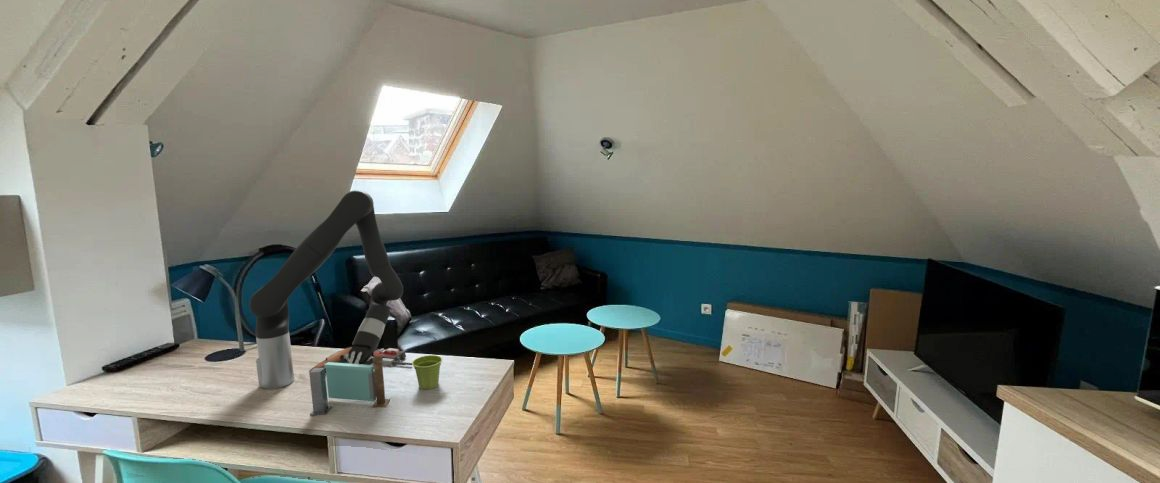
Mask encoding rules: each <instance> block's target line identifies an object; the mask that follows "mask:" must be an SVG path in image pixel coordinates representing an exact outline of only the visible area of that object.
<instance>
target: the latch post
mask: <svg viewBox="0 0 1160 483" xmlns="http://www.w3.org/2000/svg"><path fill="white" fill-rule="evenodd" d="M311 369H312V368H311ZM311 369H310V370H311ZM310 370H309V371H310ZM308 374H309V383H310V393H311V402H312V403H311V404H312V411H311V412H310V414H309V416H311V417H313V416H317V417H318V416H326V415H328V414H329V412H330V410H331V409H332V408H333V406H332V405H329V397H328V387H327V377H326V374H325V368H314V369H312V370H311V371H310V372H308Z"/></svg>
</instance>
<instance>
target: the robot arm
mask: <svg viewBox="0 0 1160 483" xmlns="http://www.w3.org/2000/svg"><path fill="white" fill-rule="evenodd" d="M374 204H375V203H374V199H373V197H372V196H371V195H370V194H369V193H368V192H366V191H363V190H356V189H355V190H350V191H348V192H347V193H345V195H343V196H342V198H341V200H340V201H339V202H338V203H337V205H336V206H335V208H334V209H333V210H332V212H331V213H330V214H329V215H328V217H327V218H325V220H324V221H323V222H322V223H320V224H318V226H317V227H316V228H315V229H313V230H312V232H311V233H310V234H309V235H308V236H306V237H305V238H304V239H303V241H301V243H300V244H299V245H298V246H297V247H296V248H295V250H294V251H293V252H292V253H291V254H290V255H289V257H288V258H287V259H286V261H285V262H284V264H283V265H282V266H281V268H280V269H279V270H278V272H277V273H276V274H275V275H274V276H273V277H272V278H271V279H270V280H268V282H266V284H265V285H263V286H261V287H260V288H259V289H258V290H257V291H255V293H253V294H252V295H251V297H250V299H249V302H248V304H249V306H248V307H249V310H250V312H251V313H252V314H253V316H256V325H255V339H256V340H255V341H256V347H257V359H256V360H255V364H256V371H257V372H256V373H257V380H258V387H259V388H263V389H266V390H267V389H268V390H269V389H271V390H274V389H278V388H279V389H280V388H283V387H286V386H288V385H290V384H292V383H293V382H294V381H295V373H294V372H295V371H294V365H293V355H292V346H291V337H290V336H291V335H290V329H289V328H290V327H289V324H290V313H289V312H290V311H289V302H288V301H289V300H288V299H290V297H291V295H292V294H293V293H294V291H296V290H297V288H298V287H300V285H301V284H303V283H304V282H305V281H306V280H307V279H309V278H310V277H311V276H312V275H313V274H314V273H315V272H316V271H317V270H318V269H319V268H320V267H322V266H323V264H324V263H325V262H326V261H327V260H328V258H330V257H331V255H332V254H333V253H334V252H335V250H336V249H337V247H338V246H339V244H340V242H341V240H342V239H343V238H344V236H346V234H347V232H349V230H350V229H351V228H352V227H353V226H354V225H356V227H357V230H358V232H359V236H360V241H361V245H362V250H363V254H364V258H365V261H366V264H367V267H368V270H369V273H370V274H371V276H372V277H375V278H378V279H379V280H380V282H378V283H377V284H375V286H374V287H373V289H372V291H371V293H370V294H371V295H370V300H369V306H368V307H369V308H368V309H367V311H366V314H365V315H364V318H363V320H362V322H361V324H360V326H359V327H358V330H357V332H356V334H355V337H354V339H353V341H352V343H351V344H352V345H351V347H352V348H351V349H350V350H349V352H348V354H346V355H341V356H340V360H341V363H348V364H362V365H374V363H373V356H374V351H376V350H377V349H378V346H379V343H380V341H381V339H382V336H383V334H384V331H385V327H386V325H387V322H388V319H389V317H390V314H391V310H390V308H389V307H388V306H387V305H388V302H392V301H397V300H400V299H401V298H402V296H403V295H404V285H403V283H402V281H401V278H400V277H399V276H398V275H397V272H396V271H395V270H394V268H393V267H392V265H391V262H390V258H389V256H388V253H387V250H386V248H385V244H384V242H383V239H382V236H381V234H380V230H379V227H378V223H377V218H376V214H375V205H374Z"/></svg>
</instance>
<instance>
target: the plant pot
mask: <svg viewBox="0 0 1160 483" xmlns="http://www.w3.org/2000/svg"><path fill="white" fill-rule="evenodd" d="M442 361H443V357H441V356H440V355H437V354H436V355H435V354H430V355H423V356H420V357H416V358H415V359H413V361H412V362H411V363H412V365H411V366H413V368H414V370H415V374H416V378H417V384H418V388H420V390H431V389H434V388H437V387H438V385H439V382H440V381H439V380H440V369H441V364H442Z"/></svg>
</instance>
